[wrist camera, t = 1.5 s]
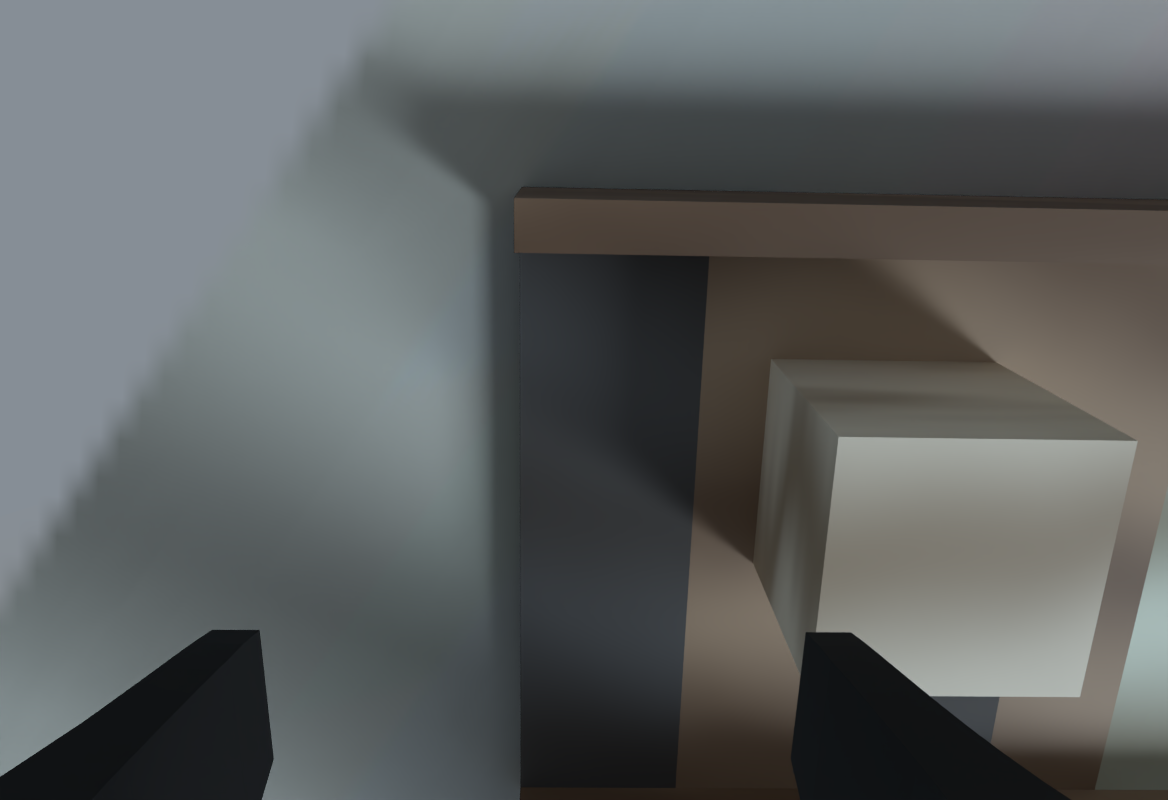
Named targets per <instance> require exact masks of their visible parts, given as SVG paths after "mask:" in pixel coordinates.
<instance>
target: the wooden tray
mask: <svg viewBox="0 0 1168 800" xmlns="http://www.w3.org/2000/svg"><path fill="white" fill-rule="evenodd" d="M514 253H520V662H521V790H520V800H800V797H799V792H798V788H797V784H796V780H795V775H794V771H793V767H792V762H791V750H792V742H793V734H794V725H795V717H796V709H797V700H798V692H799V684H800V673H799V671H798V669H797V666H796V664H795V662H794V659H793V657H792V655H791V652H790V650H789V647H788V645H787V643H786V640H785V638H784V636H783V633H782V631H781V628H780V626H779V624H778V621H777V619H776V617H775V614H774V612H773V609H772V607H771V605H770V602H769V600H768V598H767V595H766V593H765V591H764V588H763V586H762V583H761V581H760V579H759V576H758V574H757V572H756V569H755V567H754V564H753V558H754V547H755V535H756V524H757V513H758V501H759V490H760V479H761V467H762V456H763V445H764V433H765V422H766V411H767V399H768V388H769V377H770V365H771V359H808V360H873V361H938V362H997V363H998V364H1000V365H1002V366H1004V367H1006V368H1007V369H1009V370H1011V371H1013V372H1015V373H1016V374H1018V375H1020V376H1022V377H1024V378H1025V379H1027V380H1029V381H1031V382H1033V383H1034V384H1036V385H1038V386H1040V387H1042V388H1043V389H1045V390H1047V391H1049V392H1051V393H1052V394H1054V395H1056V396H1058V397H1060V398H1061V399H1063V400H1065V401H1067V402H1069V403H1070V404H1072V405H1074V406H1076V407H1078V408H1079V409H1081V410H1083V411H1085V412H1087V413H1088V414H1090V415H1092V416H1094V417H1096V418H1097V419H1099V420H1101V421H1103V422H1105V423H1106V424H1108V425H1110V426H1112V427H1114V428H1115V429H1117V430H1119V431H1121V432H1123V433H1125V434H1126V435H1128V436H1130V437H1132V438H1134V439H1135V440H1137V441H1138V442H1137V447H1136V451H1135V456H1134V460H1133V464H1132V469H1131V473H1130V478H1129V482H1128V487H1127V491H1126V495H1125V500H1124V504H1123V509H1122V513H1121V518H1120V522H1119V526H1118V531H1117V535H1116V540H1115V544H1114V549H1113V553H1112V557H1111V562H1110V566H1109V571H1108V575H1107V580H1106V584H1105V588H1104V593H1103V597H1102V602H1101V606H1100V611H1099V615H1098V619H1097V624H1096V628H1095V633H1094V637H1093V641H1092V646H1091V650H1090V655H1089V659H1088V664H1087V668H1086V672H1085V677H1084V681H1083V686H1082V690H1081V695H1080V697H975V696H930V697H932V698H933V699H934V700H935V701H937V702H938V703H939V704H940V705H942V706H943V707H944V708H945V709H947V710H948V711H949V712H950V713H952V714H953V715H954V716H955V717H957V718H958V719H959V720H960V721H962V722H963V723H964V724H966V725H967V726H968V727H969V728H971V729H972V730H973V731H975V732H976V733H977V734H979V735H980V736H981V737H983V738H984V739H985V740H987V741H988V742H989V743H991V744H992V745H993V746H995V747H996V748H997V749H999V750H1000V751H1001V752H1003V753H1004V754H1006V755H1007V756H1008V757H1010V758H1011V759H1013V760H1014V761H1015V762H1017V763H1018V764H1020V765H1021V766H1023V767H1024V768H1025V769H1027V770H1028V771H1030V772H1031V773H1032V774H1034V775H1035V776H1037V777H1038V778H1039V779H1041V780H1042V781H1044V782H1045V783H1047V784H1048V785H1050V786H1051V787H1053V788H1054V789H1056V790H1057V791H1059V792H1060V793H1062V794H1063V795H1065V796H1066V797H1068V798H1069V799H1071V800H1168V200H1154V199H1104V198H1054V197H1003V196H953V195H903V194H852V193H802V192H752V191H701V190H651V189H601V188H550V187H522V188H521V189H520V191H519V192H518V193H517V195H516V196H515V197H514Z"/></svg>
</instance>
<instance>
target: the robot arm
mask: <svg viewBox="0 0 1168 800" xmlns="http://www.w3.org/2000/svg"><path fill="white" fill-rule="evenodd" d="M273 759H274V758H273V749H272V740H271V731H270V722H269V713H268V704H267V694H266V685H265V676H264V667H263V658H262V649H261V640H260V631H259V630H212V631H210V632H209V633H207V634H205V635H204V636H202V637H201V638H199V639H198V640H196V641H195V642H193V643H192V644H190V645H189V646H188V647H186V648H185V649H183V650H182V651H181V652H179V653H178V654H177V655H175V656H174V657H172V658H171V659H170V660H168V661H167V662H166V663H164V664H163V665H161V666H160V667H159V668H157V669H156V670H155V671H153V672H152V673H151V674H149V675H148V676H146V677H145V678H144V679H142V680H141V681H140V682H138V683H137V684H135V685H134V686H133V687H131V688H130V689H129V690H127V691H126V692H124V693H123V694H122V695H120V696H119V697H117V698H116V699H115V700H113V701H112V702H110V703H109V704H108V705H106V706H105V707H103V708H102V709H101V710H99V711H98V712H96V713H95V714H94V715H92V716H91V717H90V718H88V719H87V720H85V721H84V722H82V723H81V724H79V725H78V726H76V727H75V728H73V729H72V730H70V731H69V732H67V733H66V734H64V735H63V736H61V737H60V738H58V739H57V740H55V741H54V742H52V743H51V744H49V745H48V746H46V747H45V748H43V749H42V750H40V751H39V752H37V753H36V754H34V755H33V756H31V757H30V758H28V759H27V760H25V761H24V762H22V763H21V764H19V765H18V766H16V767H15V768H13V769H12V770H10V771H8V772H7V773H5V774H4V775H2V776H1V777H0V800H262V797H263V793H264V790H265V786H266V783H267V780H268V776H269V773H270V770H271V766H272V763H273ZM791 762H792V767H793V771H794V775H795V780H796V784H797V788H798V792H799V797H800V800H1071V799H1069V798H1068V797H1066V796H1065V795H1063V794H1062V793H1060V792H1059V791H1057V790H1056V789H1054V788H1053V787H1051V786H1050V785H1048V784H1047V783H1045V782H1044V781H1042V780H1041V779H1039V778H1038V777H1037V776H1035V775H1034V774H1032V773H1031V772H1030V771H1028V770H1027V769H1025V768H1024V767H1023V766H1021V765H1020V764H1018V763H1017V762H1015V761H1014V760H1013V759H1011V758H1010V757H1008V756H1007V755H1006V754H1004V753H1003V752H1001V751H1000V750H999V749H997V748H996V747H995V746H993V745H992V744H991V743H989V742H988V741H987V740H985V739H984V738H983V737H981V736H980V735H979V734H977V733H976V732H975V731H973V730H972V729H971V728H969V727H968V726H967V725H966V724H964V723H963V722H962V721H960V720H959V719H958V718H957V717H955V716H954V715H953V714H952V713H950V712H949V711H948V710H947V709H945V708H944V707H943V706H942V705H940V704H939V703H938V702H937V701H935V700H934V699H933V698H932V697H930V696H929V695H928V694H927V693H926V692H924V691H923V690H922V689H921V688H919V687H918V686H917V685H916V684H915V683H913V682H912V681H911V680H910V679H908V678H907V677H906V676H905V675H904V674H902V673H901V672H900V671H899V670H898V669H896V668H895V667H894V666H893V665H892V664H890V663H889V662H888V661H887V660H886V659H884V658H883V657H882V656H881V655H879V654H878V653H877V652H876V651H875V650H873V649H872V648H871V647H870V646H868V645H867V644H866V643H865V642H863V641H862V640H861V639H859V638H858V637H857V636H855V635H854V634H853V633H851V632H806V634H805V642H804V650H803V659H802V667H801V675H800V684H799V692H798V700H797V709H796V717H795V725H794V734H793V742H792V750H791Z"/></svg>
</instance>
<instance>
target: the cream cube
mask: <svg viewBox="0 0 1168 800" xmlns="http://www.w3.org/2000/svg"><path fill="white" fill-rule="evenodd" d="M1137 442H1138V441H1137V440H1135V439H1134V438H1132V437H1130V436H1128V435H1126V434H1125V433H1123V432H1121V431H1119V430H1117V429H1115V428H1114V427H1112V426H1110V425H1108V424H1106V423H1105V422H1103V421H1101V420H1099V419H1097V418H1096V417H1094V416H1092V415H1090V414H1088V413H1087V412H1085V411H1083V410H1081V409H1079V408H1078V407H1076V406H1074V405H1072V404H1070V403H1069V402H1067V401H1065V400H1063V399H1061V398H1060V397H1058V396H1056V395H1054V394H1052V393H1051V392H1049V391H1047V390H1045V389H1043V388H1042V387H1040V386H1038V385H1036V384H1034V383H1033V382H1031V381H1029V380H1027V379H1025V378H1024V377H1022V376H1020V375H1018V374H1016V373H1015V372H1013V371H1011V370H1009V369H1007V368H1006V367H1004V366H1002V365H1000V364H998V363H997V362H938V361H873V360H808V359H771V365H770V377H769V388H768V399H767V411H766V422H765V433H764V445H763V456H762V467H761V479H760V490H759V501H758V513H757V524H756V535H755V547H754V558H753V564H754V567H755V569H756V572H757V574H758V576H759V579H760V581H761V583H762V586H763V588H764V591H765V593H766V595H767V598H768V600H769V602H770V605H771V607H772V609H773V612H774V614H775V617H776V619H777V621H778V624H779V626H780V628H781V631H782V633H783V636H784V638H785V640H786V643H787V645H788V647H789V650H790V652H791V655H792V657H793V659H794V662H795V664H796V666H797V669H798V671H799V673H800V675H801V667H802V659H803V650H804V642H805V634H806V632H851V633H853V634H854V635H855V636H857V637H858V638H859V639H861V640H862V641H863V642H865V643H866V644H867V645H868V646H870V647H871V648H872V649H873V650H875V651H876V652H877V653H878V654H879V655H881V656H882V657H883V658H884V659H886V660H887V661H888V662H889V663H890V664H892V665H893V666H894V667H895V668H896V669H898V670H899V671H900V672H901V673H902V674H904V675H905V676H906V677H907V678H908V679H910V680H911V681H912V682H913V683H915V684H916V685H917V686H918V687H919V688H921V689H922V690H923V691H924V692H926V693H927V694H928V695H929V696H975V697H1080V695H1081V690H1082V686H1083V681H1084V677H1085V672H1086V668H1087V664H1088V659H1089V655H1090V650H1091V646H1092V641H1093V637H1094V633H1095V628H1096V624H1097V619H1098V615H1099V611H1100V606H1101V602H1102V597H1103V593H1104V588H1105V584H1106V580H1107V575H1108V571H1109V566H1110V562H1111V557H1112V553H1113V549H1114V544H1115V540H1116V535H1117V531H1118V526H1119V522H1120V518H1121V513H1122V509H1123V504H1124V500H1125V495H1126V491H1127V487H1128V482H1129V478H1130V473H1131V469H1132V464H1133V460H1134V456H1135V451H1136V447H1137Z"/></svg>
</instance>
